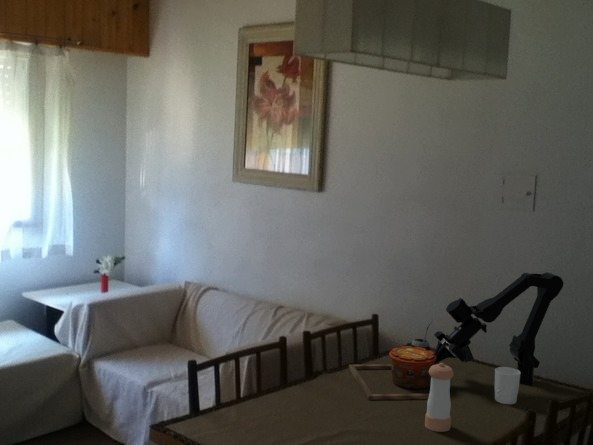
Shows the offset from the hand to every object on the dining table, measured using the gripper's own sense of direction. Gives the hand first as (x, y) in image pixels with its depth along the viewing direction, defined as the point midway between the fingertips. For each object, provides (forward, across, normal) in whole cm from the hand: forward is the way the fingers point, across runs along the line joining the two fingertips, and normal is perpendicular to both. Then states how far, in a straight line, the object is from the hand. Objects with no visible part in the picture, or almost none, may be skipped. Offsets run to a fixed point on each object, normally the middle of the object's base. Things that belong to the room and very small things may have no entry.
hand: (432, 363), depth 240 cm
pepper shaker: (+12, -36, +2) cm, 38 cm away
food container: (+10, 0, 0) cm, 10 cm away
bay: (+13, 0, +4) cm, 14 cm away
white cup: (-9, -17, -18) cm, 27 cm away
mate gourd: (+3, +22, -7) cm, 24 cm away
